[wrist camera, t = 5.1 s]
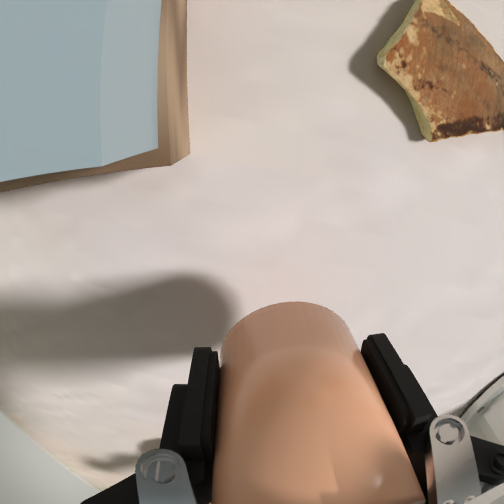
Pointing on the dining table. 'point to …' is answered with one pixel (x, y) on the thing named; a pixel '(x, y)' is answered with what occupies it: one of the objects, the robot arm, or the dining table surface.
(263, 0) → the dining table surface
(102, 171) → the bottom block
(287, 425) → the terracotta cylinder
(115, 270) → the dining table surface
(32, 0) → the top block
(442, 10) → the shard
